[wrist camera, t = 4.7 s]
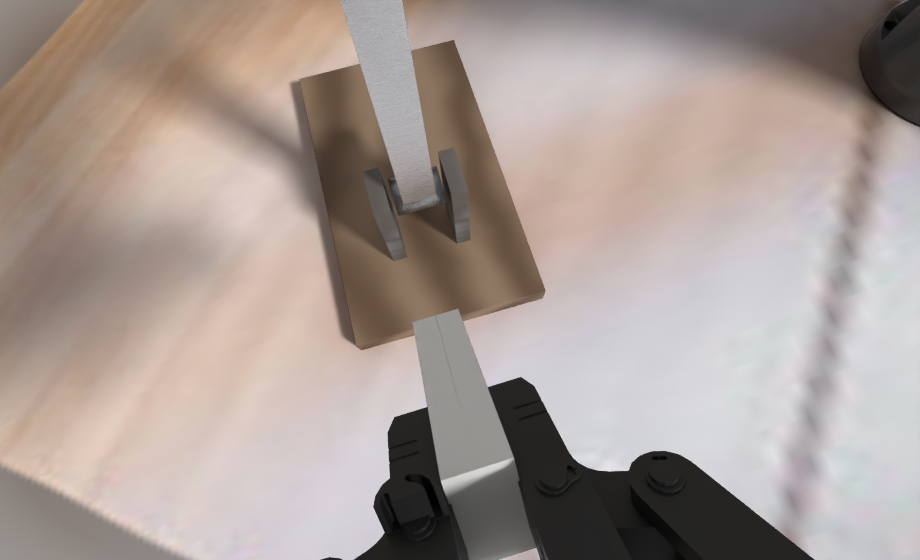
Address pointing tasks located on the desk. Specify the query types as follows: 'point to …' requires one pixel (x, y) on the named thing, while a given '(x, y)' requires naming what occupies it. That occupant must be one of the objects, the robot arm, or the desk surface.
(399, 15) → the lever
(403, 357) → the desk surface
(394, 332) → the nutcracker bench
